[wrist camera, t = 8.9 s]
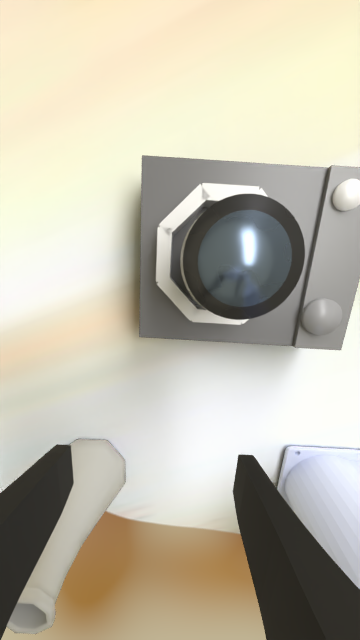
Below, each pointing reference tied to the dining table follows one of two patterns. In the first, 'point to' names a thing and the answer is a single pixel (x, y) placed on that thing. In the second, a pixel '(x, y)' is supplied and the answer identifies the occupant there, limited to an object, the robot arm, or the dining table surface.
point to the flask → (70, 531)
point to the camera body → (317, 229)
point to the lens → (243, 256)
